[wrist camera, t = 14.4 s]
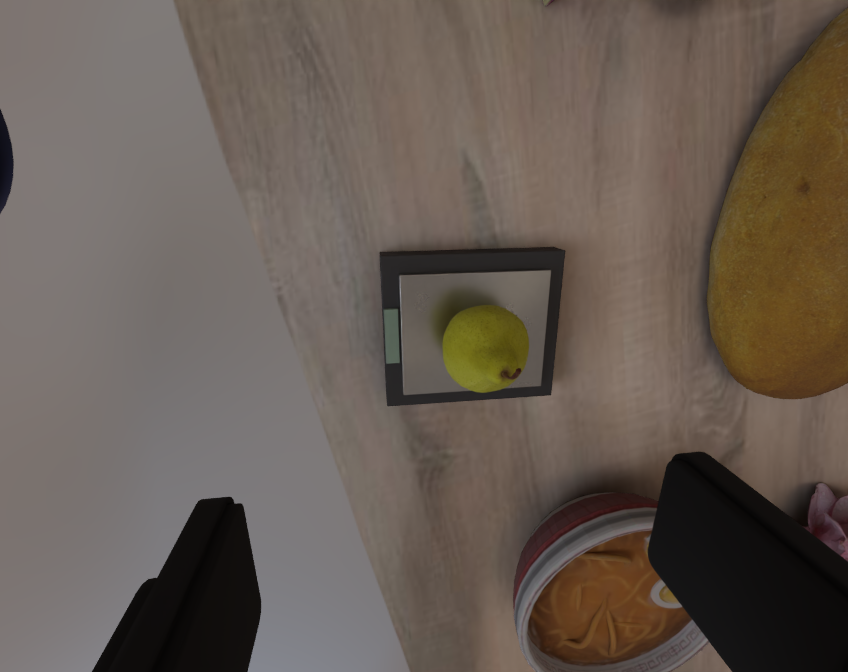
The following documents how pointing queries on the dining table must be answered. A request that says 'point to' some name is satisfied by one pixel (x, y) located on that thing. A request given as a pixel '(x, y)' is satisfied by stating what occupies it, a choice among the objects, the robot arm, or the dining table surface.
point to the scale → (460, 262)
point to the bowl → (599, 592)
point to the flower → (829, 519)
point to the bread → (789, 235)
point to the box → (547, 2)
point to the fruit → (485, 348)
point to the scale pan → (454, 292)
